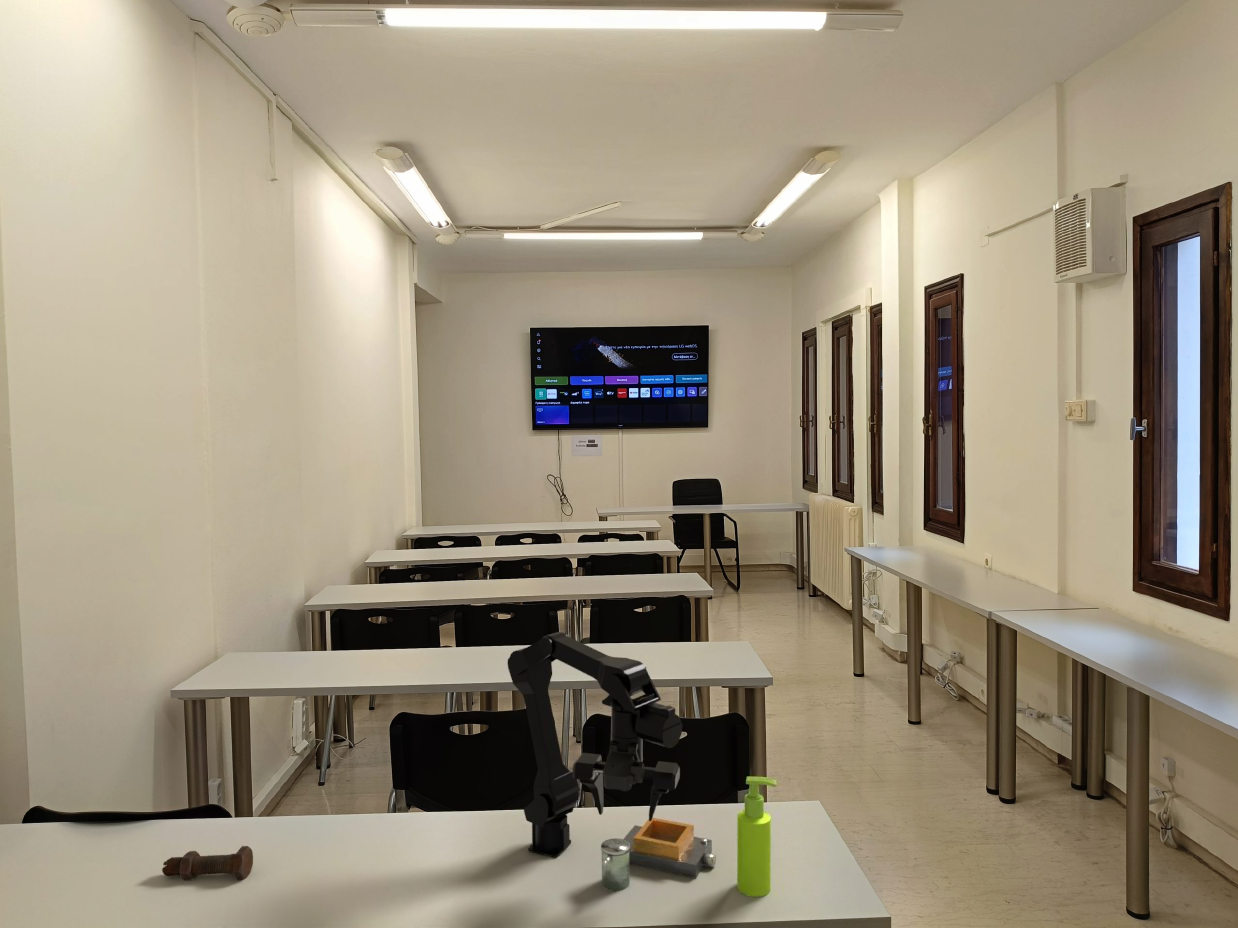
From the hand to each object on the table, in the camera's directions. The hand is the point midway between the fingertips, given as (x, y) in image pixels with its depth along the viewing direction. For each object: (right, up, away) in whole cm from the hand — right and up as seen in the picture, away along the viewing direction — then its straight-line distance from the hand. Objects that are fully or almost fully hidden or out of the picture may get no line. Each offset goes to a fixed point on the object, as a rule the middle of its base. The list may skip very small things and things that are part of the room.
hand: (625, 816), depth 154 cm
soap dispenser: (+23, -12, -2) cm, 27 cm away
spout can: (-2, -12, -1) cm, 12 cm away
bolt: (-77, -13, +3) cm, 78 cm away
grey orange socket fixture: (+7, -12, +9) cm, 16 cm away
